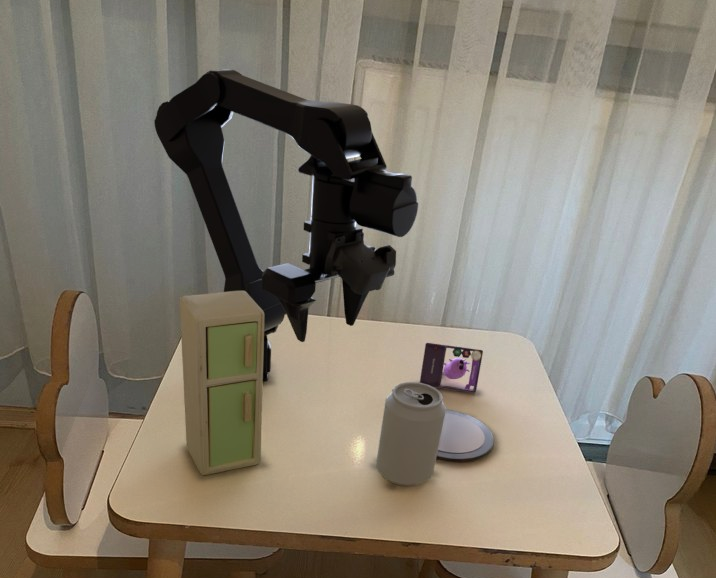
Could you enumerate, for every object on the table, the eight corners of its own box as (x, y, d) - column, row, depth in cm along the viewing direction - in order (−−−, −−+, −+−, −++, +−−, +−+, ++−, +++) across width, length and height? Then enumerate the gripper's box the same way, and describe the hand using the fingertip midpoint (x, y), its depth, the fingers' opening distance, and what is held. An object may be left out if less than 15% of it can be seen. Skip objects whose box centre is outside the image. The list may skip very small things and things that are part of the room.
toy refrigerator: (201, 480, 87) (198, 321, 75) (184, 448, 92) (178, 294, 80) (263, 468, 90) (268, 314, 78) (243, 437, 96) (245, 289, 84)
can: (428, 495, 89) (445, 414, 83) (370, 483, 90) (382, 401, 83) (435, 462, 96) (451, 384, 89) (380, 451, 96) (392, 373, 89)
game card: (426, 343, 110) (483, 350, 110) (424, 339, 115) (479, 347, 115) (419, 385, 112) (476, 393, 112) (418, 380, 117) (472, 388, 117)
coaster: (414, 463, 95) (415, 459, 94) (393, 412, 105) (393, 408, 105) (505, 461, 98) (506, 457, 97) (476, 411, 108) (477, 408, 108)
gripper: (323, 247, 79) (316, 373, 87) (430, 223, 90) (414, 336, 99) (259, 221, 85) (258, 341, 93) (367, 201, 96) (357, 310, 105)
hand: (326, 332), depth 98 cm, fingers open, 9 cm apart
